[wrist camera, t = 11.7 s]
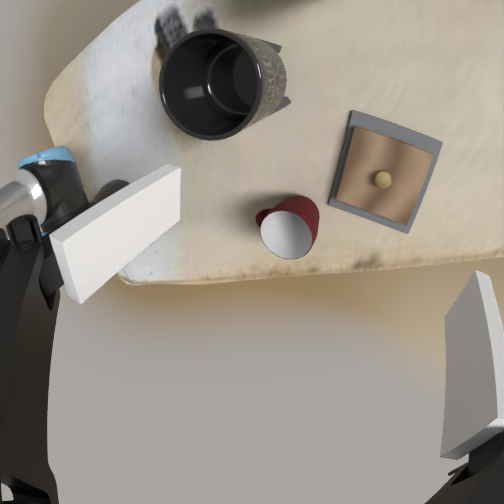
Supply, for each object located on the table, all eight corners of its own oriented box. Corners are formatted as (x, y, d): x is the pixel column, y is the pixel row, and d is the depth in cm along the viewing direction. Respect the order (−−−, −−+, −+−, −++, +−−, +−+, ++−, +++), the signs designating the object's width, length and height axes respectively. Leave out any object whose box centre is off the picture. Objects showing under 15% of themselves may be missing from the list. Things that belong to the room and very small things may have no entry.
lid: (337, 196, 49) (334, 203, 47) (355, 125, 41) (353, 128, 39) (406, 221, 46) (407, 229, 44) (432, 152, 38) (434, 157, 36)
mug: (273, 229, 58) (251, 258, 50) (264, 187, 54) (239, 211, 46) (330, 228, 53) (316, 260, 45) (324, 184, 49) (308, 209, 42)
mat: (329, 203, 51) (328, 204, 50) (352, 110, 41) (352, 110, 40) (408, 232, 47) (408, 233, 47) (442, 142, 37) (442, 142, 37)
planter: (236, 120, 49) (171, 147, 36) (222, 47, 43) (148, 47, 29) (312, 112, 44) (271, 135, 30) (299, 32, 37) (249, 14, 24)
